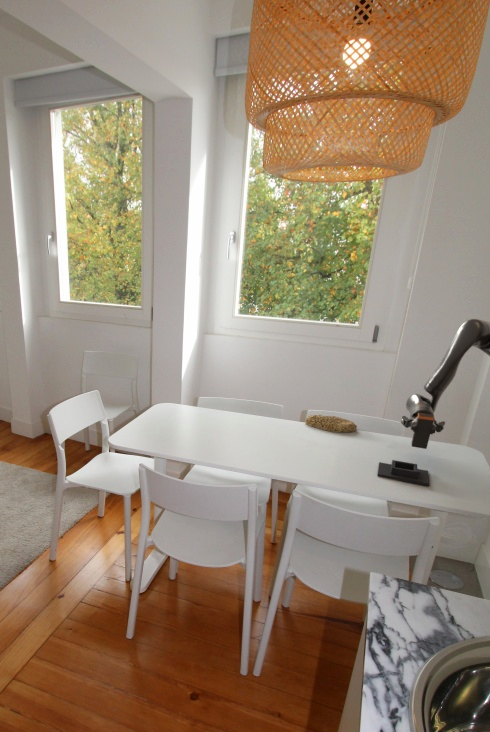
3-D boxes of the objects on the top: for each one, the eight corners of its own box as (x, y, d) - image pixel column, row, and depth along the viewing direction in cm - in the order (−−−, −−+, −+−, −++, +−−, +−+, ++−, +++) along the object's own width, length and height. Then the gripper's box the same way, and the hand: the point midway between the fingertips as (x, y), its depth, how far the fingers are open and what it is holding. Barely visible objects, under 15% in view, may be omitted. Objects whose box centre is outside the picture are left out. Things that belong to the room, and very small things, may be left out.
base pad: (427, 473, 168) (429, 464, 167) (428, 486, 158) (431, 476, 157) (378, 464, 175) (380, 455, 173) (377, 476, 165) (379, 467, 163)
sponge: (303, 432, 210) (348, 436, 196) (303, 414, 209) (349, 417, 195) (315, 429, 219) (359, 433, 206) (316, 413, 218) (360, 415, 205)
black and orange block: (426, 444, 163) (433, 414, 159) (426, 449, 159) (434, 418, 155) (411, 442, 165) (418, 412, 161) (411, 446, 161) (418, 416, 157)
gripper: (402, 404, 173) (402, 416, 159) (447, 409, 167) (450, 423, 153) (398, 423, 176) (397, 437, 161) (442, 429, 170) (445, 444, 155)
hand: (423, 430), depth 157 cm, fingers closed on black and orange block, 4 cm apart
